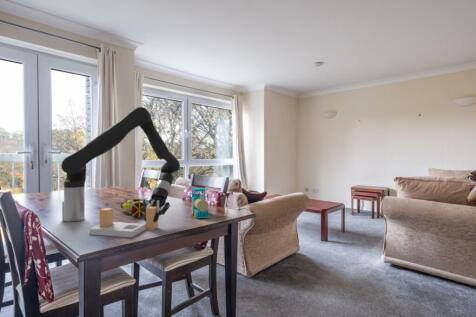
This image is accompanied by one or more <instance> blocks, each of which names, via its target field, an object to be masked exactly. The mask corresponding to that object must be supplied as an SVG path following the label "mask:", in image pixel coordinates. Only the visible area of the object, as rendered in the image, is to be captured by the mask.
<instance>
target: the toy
mask: <svg viewBox="0 0 476 317" xmlns="http://www.w3.org/2000/svg"><path fill="white" fill-rule="evenodd" d="M120 200H121V201H122V200H124V201H126V202H121V203H120V208H122V209H125V210H127V211H130V212H131V215H132V216H133V217H134V216H135V217H137V218H141V216H143V215H144V216H145V213H144V212H143V201H146V202H147V201H149V200H150V199H149V200H148V197H141V198H140V197H139V198H120ZM149 205H150V204H148V206H149ZM148 206H147V207H148Z"/></svg>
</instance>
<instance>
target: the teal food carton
mask: <svg viewBox="0 0 476 317" xmlns="http://www.w3.org/2000/svg"><path fill="white" fill-rule="evenodd" d="M196 192H197V193H196ZM198 192H201V193H198ZM208 208H209V203H208V201H207V200H206V188H204V187H192V188H191V204H190V212H191V213H192V214H191V215H193V216H194V218H195V219H196V218H197V219H203V218H210V212H209V209H208Z"/></svg>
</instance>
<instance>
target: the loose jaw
mask: <svg viewBox="0 0 476 317" xmlns="http://www.w3.org/2000/svg"><path fill="white" fill-rule="evenodd" d="M156 213H157V207H153V206H151V207H147V208H146V222H145V224H146V230H150V231H154V230H156V229H158V227H159V222H158V221H159V220H158V221H156V222H154V221H153V219H154V217H155V214H156Z"/></svg>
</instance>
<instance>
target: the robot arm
mask: <svg viewBox="0 0 476 317" xmlns="http://www.w3.org/2000/svg"><path fill="white" fill-rule="evenodd" d="M138 127H140V129H141V130H142V131H143V132H144V134H145V136H146V138H147V140H148V142H149V144H150V146H151V148H152V151H153V152H154V153H155V155H156V157H157V159H158V160H164V161H165V162H164V163H163V164H162V165H161V168H160V172H159V177H158V180H157V183H156V184H155V187H154V189H153V192H152V193H151V196H150V199H149V201H147V202H146V201H142V202H143V212H144V213H145V215H144V216H143V220H144V222H145V223H146V208H147V206H148V207H151V206H153V207H157V213H156V214H155V217H154V219H153V221H154V222H156V221H159V218H160V216H161V215H162V216H164V215H165V214H166V212H167V211H168V210H169V208H170V207H171V204H170V202H169V201H167V200H168V198H169V197H168V196H169V193H170V191H171V187H172V184H173V182H174V176H173V175H172V174H174V173H177V171H179V170H180V168H181V164H180V161H179V159H177V158H176V157H175V156H174V154H173V153H171V152H170V150H169V148H168V147H167V145H166V143H165V142H164V140H163V139H162V137H161V136H160V134H159V132H158V130H157V129H156V126H155V124H154V122H153V119H152V116H151V113H150V112H149V110H148V109H147V108H145V107H143V106H137V107H136V108H134V109H132V110H131V111H130V112H129V113H127V115H125V116H124V117H123V118H122V119H121V120H119V121H118V122H117V123H115V124H113V125H111V126H110V127H108V128H107V129H105V130H104V131H103V132H101V133H100V134H98V135H97V136H96V137H95V138H93V139H92V140H91V141H90V142H89V143H87V144H86V145H85V146H83V147H82V148H81V149H79V150H77V151H76V152H74V153H72V154H71V155H68V156H67V157H65V158H64V159H63V160H62V162H61V170H62V171H63V172H64V173H65V174H66V177H65V180H64V183H63V201H62V202H61V206H62V207H61V212H62V214H61V218H62V219H61V220H62V221H64V222H69V223H70V222H71V223H72V222H78V221H79V222H80V221H83V220H85V217H86V216H85V212H86V211H85V210H86V209H85V208H86V207H85V206H86V205H85V204H86V203H85V202H86V201H85V200H86V199H85V197H86V196H85V194H86V192H85V189H86V188H85V186H86V184H85V183H86V180H87V165H88V163H90V162H91V161H92V160H94V159H96V158H97V157H99V156H100V157H101V156H102V155H104V154H106V153H108V152H109V151H110V150H112V149H113V148H115V147H117V145H119V144H120V143H121V142H122V141H123V140H124V139H125V138H126V137H127V136H128V134H129V133H130V132H132V131H133V130H134V129H136V128H138ZM148 204H149V205H148Z"/></svg>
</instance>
